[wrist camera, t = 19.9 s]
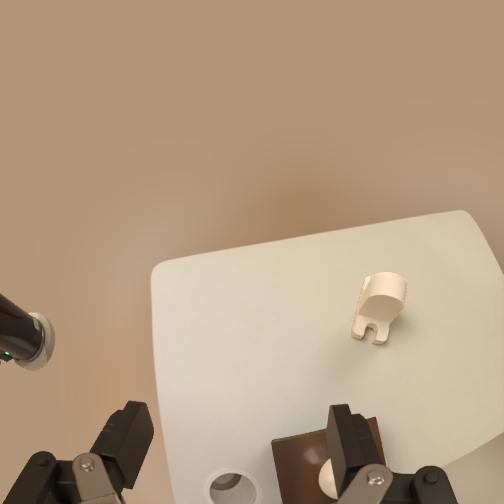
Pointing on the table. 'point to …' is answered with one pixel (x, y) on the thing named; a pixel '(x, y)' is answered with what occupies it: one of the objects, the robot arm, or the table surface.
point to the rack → (307, 465)
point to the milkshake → (326, 476)
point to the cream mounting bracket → (379, 305)
